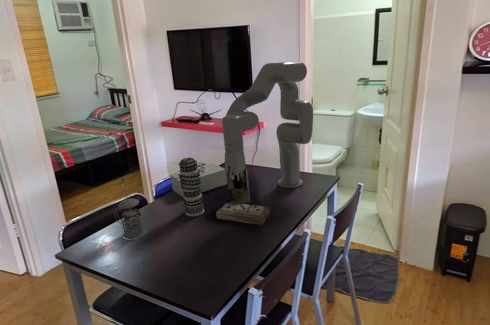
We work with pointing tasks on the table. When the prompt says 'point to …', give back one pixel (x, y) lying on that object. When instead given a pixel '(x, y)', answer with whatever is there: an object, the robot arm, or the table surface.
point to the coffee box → (239, 194)
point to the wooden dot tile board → (243, 215)
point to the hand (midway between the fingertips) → (238, 188)
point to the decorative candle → (191, 187)
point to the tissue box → (203, 178)
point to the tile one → (229, 208)
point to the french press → (135, 229)
